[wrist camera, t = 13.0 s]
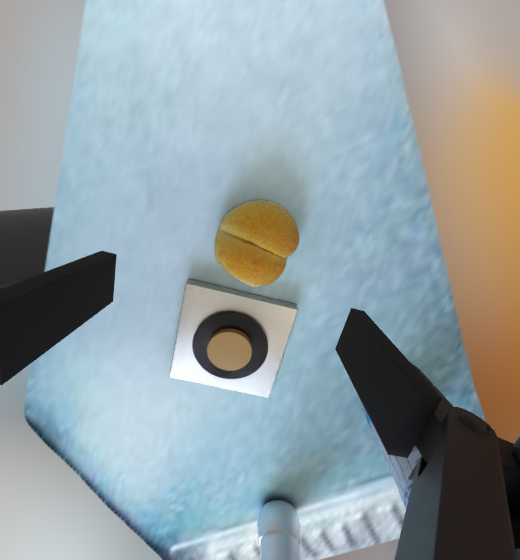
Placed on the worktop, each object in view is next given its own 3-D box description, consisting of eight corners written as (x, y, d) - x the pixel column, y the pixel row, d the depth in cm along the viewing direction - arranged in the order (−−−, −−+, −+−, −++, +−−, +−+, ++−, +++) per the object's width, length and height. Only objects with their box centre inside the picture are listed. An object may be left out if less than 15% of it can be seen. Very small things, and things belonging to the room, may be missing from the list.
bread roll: (309, 221, 28) (316, 226, 24) (269, 290, 31) (270, 303, 27) (241, 182, 27) (237, 181, 23) (205, 257, 29) (196, 267, 25)
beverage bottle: (359, 389, 35) (474, 622, 16) (423, 376, 34) (623, 605, 15) (366, 435, 38) (473, 682, 19) (426, 424, 37) (600, 670, 18)
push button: (173, 369, 34) (165, 385, 31) (189, 278, 30) (182, 287, 27) (268, 389, 35) (269, 406, 32) (296, 304, 31) (300, 315, 28)
